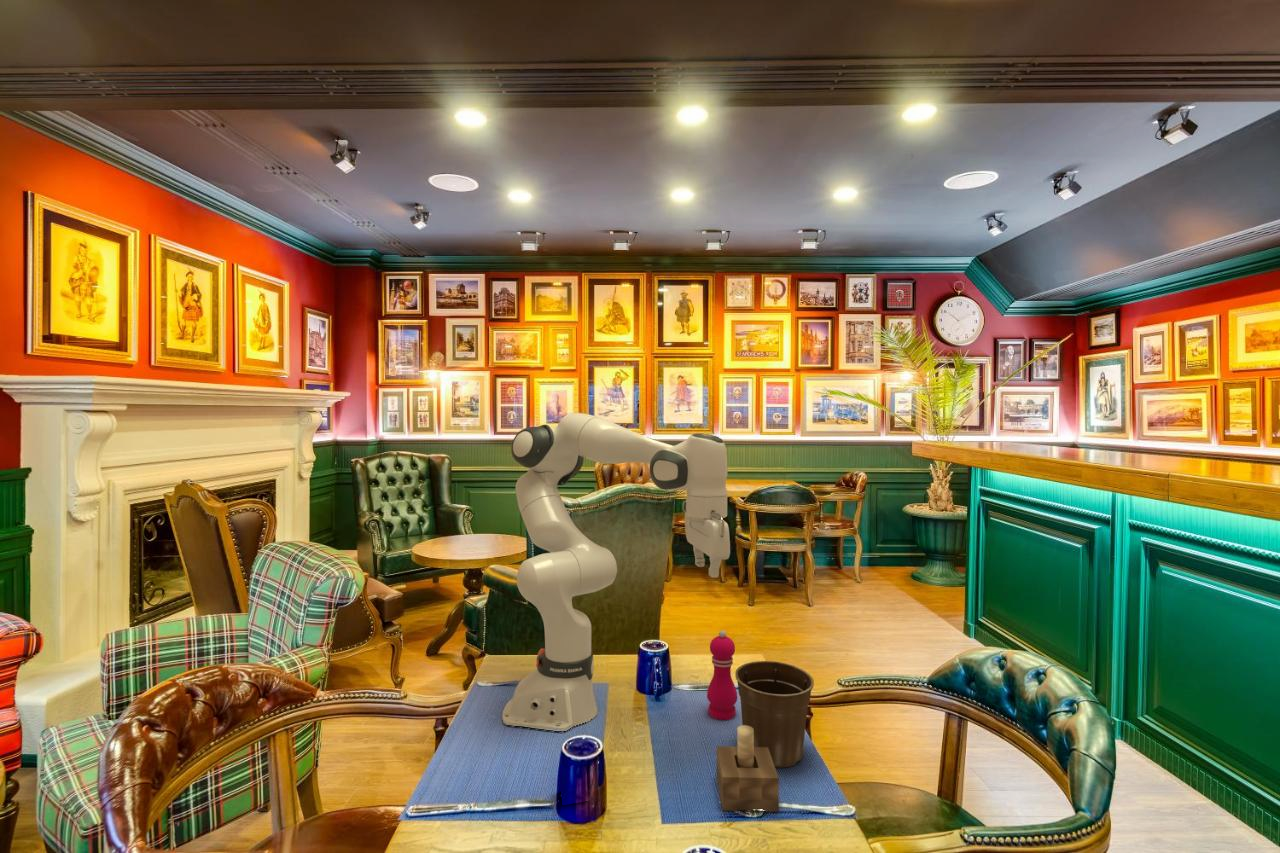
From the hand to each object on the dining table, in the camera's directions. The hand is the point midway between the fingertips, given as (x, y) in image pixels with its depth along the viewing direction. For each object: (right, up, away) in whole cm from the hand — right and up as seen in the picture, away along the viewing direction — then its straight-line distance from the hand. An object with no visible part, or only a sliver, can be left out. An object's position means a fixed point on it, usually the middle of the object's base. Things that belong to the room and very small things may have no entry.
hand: (706, 571), depth 127 cm
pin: (+5, -35, -18) cm, 40 cm away
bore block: (+5, -37, -18) cm, 42 cm away
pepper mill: (+5, -37, +12) cm, 40 cm away
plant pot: (+14, -38, -4) cm, 40 cm away
